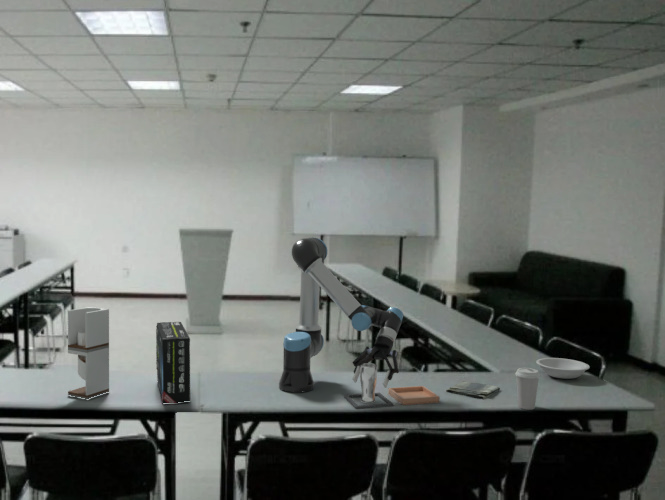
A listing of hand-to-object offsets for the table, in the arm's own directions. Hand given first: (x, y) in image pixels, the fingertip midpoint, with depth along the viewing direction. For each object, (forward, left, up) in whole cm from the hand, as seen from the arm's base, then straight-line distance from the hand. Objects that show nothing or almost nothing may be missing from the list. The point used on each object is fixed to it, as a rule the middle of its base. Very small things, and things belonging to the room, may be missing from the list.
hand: (369, 383), depth 255 cm
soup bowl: (+104, +17, -8) cm, 106 cm away
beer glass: (0, +1, -8) cm, 8 cm away
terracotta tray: (+20, +1, -8) cm, 21 cm away
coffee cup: (+60, -20, -8) cm, 64 cm away
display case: (-109, +34, -8) cm, 114 cm away
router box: (-76, +31, -8) cm, 82 cm away
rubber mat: (0, +1, -8) cm, 8 cm away
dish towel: (+50, +5, -8) cm, 51 cm away
